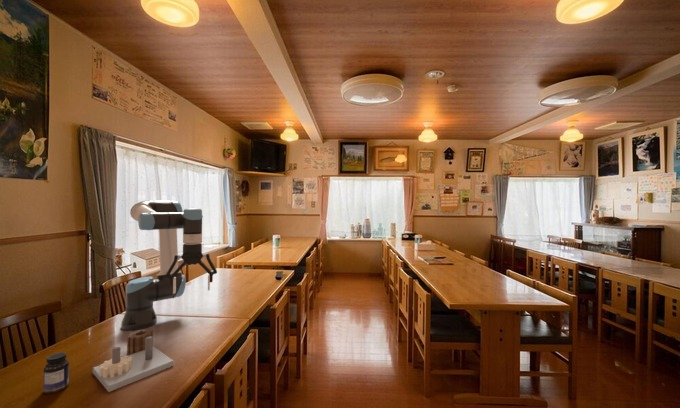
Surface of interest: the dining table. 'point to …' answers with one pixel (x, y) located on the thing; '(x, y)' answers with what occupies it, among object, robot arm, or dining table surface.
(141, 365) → the gear board
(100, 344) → the dining table surface
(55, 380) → the pill bottle
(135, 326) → the robot arm
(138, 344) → the walnut gear
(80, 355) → the dining table surface
